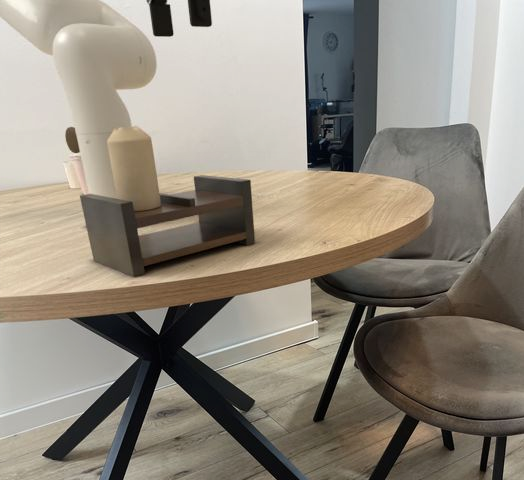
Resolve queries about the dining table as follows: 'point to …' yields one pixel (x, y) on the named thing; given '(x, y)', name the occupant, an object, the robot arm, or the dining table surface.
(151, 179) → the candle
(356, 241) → the dining table surface
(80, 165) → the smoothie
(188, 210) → the rack
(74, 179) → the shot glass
